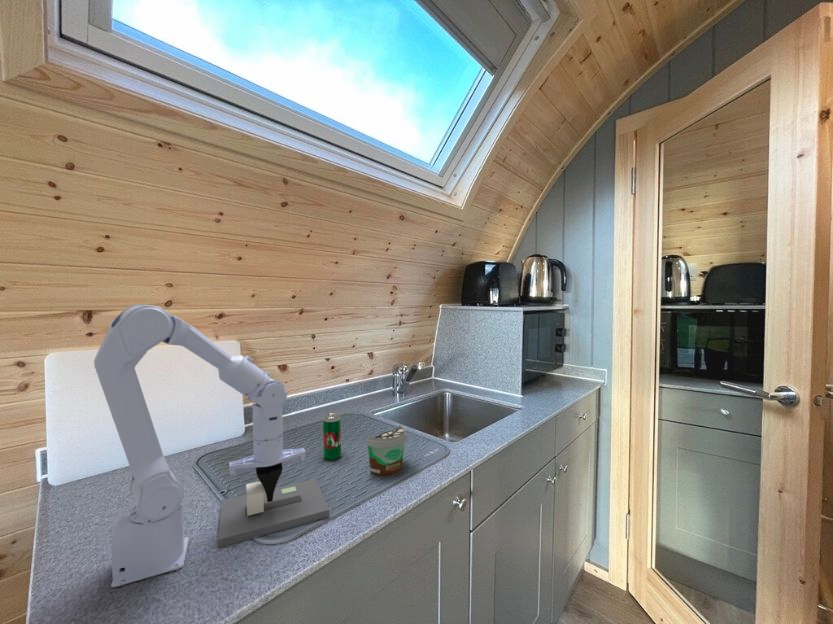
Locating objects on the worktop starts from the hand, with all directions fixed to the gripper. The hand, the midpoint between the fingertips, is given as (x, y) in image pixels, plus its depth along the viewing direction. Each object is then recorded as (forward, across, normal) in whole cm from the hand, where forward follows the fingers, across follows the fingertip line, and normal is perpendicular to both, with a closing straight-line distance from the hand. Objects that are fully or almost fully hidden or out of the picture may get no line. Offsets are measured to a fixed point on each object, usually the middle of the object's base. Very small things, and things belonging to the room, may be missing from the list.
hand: (269, 499), depth 74 cm
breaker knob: (+1, +3, 0) cm, 3 cm away
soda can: (+3, -18, -20) cm, 27 cm away
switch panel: (+3, -1, 0) cm, 3 cm away
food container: (+3, -30, -5) cm, 30 cm away
